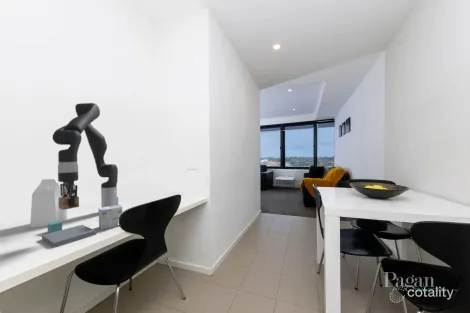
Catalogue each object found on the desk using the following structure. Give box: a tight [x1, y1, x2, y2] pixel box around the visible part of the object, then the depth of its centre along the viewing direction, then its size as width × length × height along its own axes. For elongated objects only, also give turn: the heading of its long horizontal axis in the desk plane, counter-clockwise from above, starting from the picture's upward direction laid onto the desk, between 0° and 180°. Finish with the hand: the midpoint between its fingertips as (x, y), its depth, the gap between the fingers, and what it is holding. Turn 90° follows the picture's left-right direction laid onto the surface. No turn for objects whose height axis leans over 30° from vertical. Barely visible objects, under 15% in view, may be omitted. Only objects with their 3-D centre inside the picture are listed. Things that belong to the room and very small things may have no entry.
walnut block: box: [59, 195, 80, 210], centre depth 96 cm, size 6×6×5 cm
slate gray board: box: [41, 224, 97, 248], centre depth 96 cm, size 16×16×2 cm
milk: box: [29, 178, 68, 228], centre depth 116 cm, size 12×12×26 cm
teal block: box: [47, 221, 63, 233], centre depth 103 cm, size 4×4×4 cm
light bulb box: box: [98, 204, 123, 231], centre depth 110 cm, size 11×7×11 cm, turn 135°
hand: (68, 205), depth 96 cm, fingers closed on walnut block, 6 cm apart
